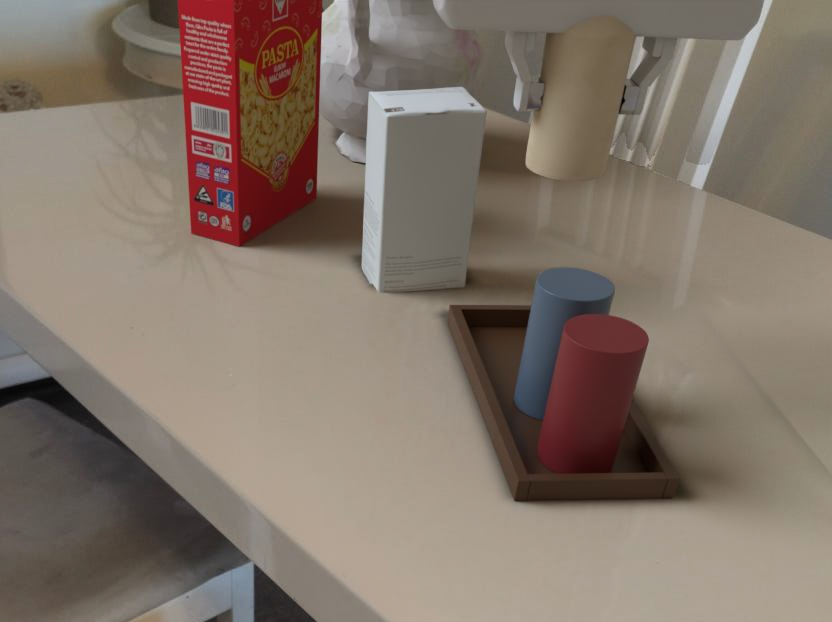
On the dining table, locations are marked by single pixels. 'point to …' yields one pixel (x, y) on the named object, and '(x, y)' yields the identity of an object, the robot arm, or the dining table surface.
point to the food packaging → (249, 112)
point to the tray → (519, 433)
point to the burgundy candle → (591, 393)
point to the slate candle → (555, 328)
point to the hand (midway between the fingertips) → (575, 110)
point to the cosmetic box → (420, 187)
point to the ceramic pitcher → (388, 60)
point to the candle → (580, 99)
